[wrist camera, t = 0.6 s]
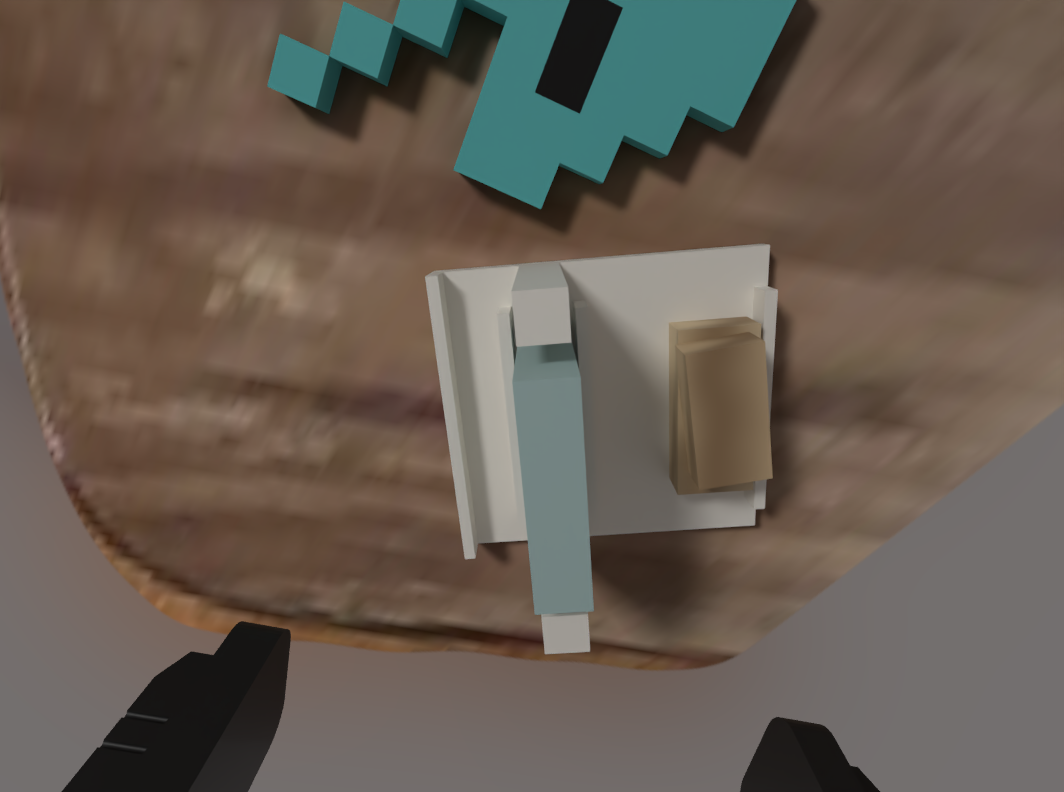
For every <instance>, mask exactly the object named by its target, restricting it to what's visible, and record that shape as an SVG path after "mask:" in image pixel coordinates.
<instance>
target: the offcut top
mask: <svg viewBox="0 0 1064 792" xmlns="http://www.w3.org/2000/svg"><path fill="white" fill-rule="evenodd" d="M675 351H676V360H677V369H678V378H679V387H680V397H681V406H682V415H683V424H684V433H685V443H686V452H687V461H688V470H689V473H690V475H691V477H692V479H693V480H694V482H695V484H696V486H697V487H698V489H699V490H704V489H710V488H716V487H722V486H729V485H735V484H741V483H747V482H753V481H760V480H766V479H772V478H773V475H772V457H771V439H770V421H769V403H768V385H767V366H766V348H765V341H764V340H762V339H761V338H759V337H757V336H755V335H754V334H752V333H750V332H745V333H740V334H734V335H728V336H723V337H717V338H712V339H706V340H700V341H695V342H689V343H684V344H678V345H675Z"/></svg>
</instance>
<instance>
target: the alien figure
mask: <svg viewBox="0 0 1064 792" xmlns="http://www.w3.org/2000/svg"><path fill="white" fill-rule="evenodd" d="M795 2H796V0H400V3H399V7H398V10H397V13H396V17H395V20H394V24H393V25H392V24H390V23H388V22H386V21H384V20H381V19H379V18H377V17H375V16H373V15H371V14H369V13H367V12H365V11H363V10H360V9H358V8H356V7H354V6H352V5H350V4H348V3H346V2H344V3H343V6H342V10H341V14H340V18H339V21H338V25H337V29H336V33H335V36H334V40H333V44H332V48H331V51H330V55H329V56H328V55H325V54H323V53H321V52H319V51H317V50H315V49H313V48H310V47H308V46H306V45H304V44H302V43H300V42H297V41H295V40H293V39H291V38H289V37H287V36H284V35H282V34H280V36H279V40H278V44H277V48H276V52H275V57H274V61H273V65H272V69H271V73H270V77H269V82H268V87H270V88H272V89H274V90H276V91H279V92H281V93H283V94H285V95H288V96H290V97H292V98H294V99H297V100H299V101H301V102H303V103H305V104H308V105H310V106H312V107H314V108H317V109H319V110H321V111H323V112H326V113H328V114H329V113H330V109H331V106H332V102H333V99H334V95H335V91H336V88H337V84H338V80H339V77H340V73H341V70H342V66H344V67H346V68H348V69H350V70H353V71H355V72H357V73H359V74H361V75H363V76H366V77H368V78H370V79H372V80H374V81H376V82H379V83H381V84H383V85H385V86H388V83H389V80H390V76H391V73H392V70H393V66H394V63H395V60H396V57H397V53H398V50H399V47H400V43H401V40H402V37H404V38H406V39H408V40H410V41H412V42H414V43H416V44H419V45H421V46H423V47H425V48H427V49H429V50H431V51H433V52H435V53H438V54H440V55H442V56H444V57H446V58H448V55H449V52H450V49H451V46H452V43H453V40H454V37H455V34H456V31H457V28H458V25H459V21H460V18H461V15H462V12H463V9H464V7H466V8H468V9H470V10H472V11H474V12H476V13H478V14H480V15H482V16H484V17H486V18H488V19H490V20H492V21H494V22H496V23H498V24H500V25H502V26H504V28H503V31H502V33H501V36H500V39H499V42H498V45H497V48H496V50H495V53H494V56H493V59H492V62H491V65H490V68H489V70H488V73H487V76H486V79H485V82H484V85H483V87H482V90H481V93H480V96H479V99H478V102H477V104H476V107H475V110H474V113H473V116H472V119H471V122H470V124H469V127H468V130H467V133H466V136H465V139H464V141H463V144H462V147H461V150H460V153H459V156H458V159H457V161H456V164H455V167H454V170H455V171H457V172H459V173H461V174H463V175H466V176H468V177H470V178H472V179H475V180H477V181H479V182H481V183H483V184H486V185H488V186H490V187H492V188H495V189H497V190H499V191H501V192H503V193H506V194H508V195H510V196H512V197H515V198H517V199H519V200H521V201H523V202H526V203H528V204H530V205H532V206H535V207H537V208H539V209H541V208H542V205H543V203H544V201H545V198H546V196H547V193H548V191H549V188H550V186H551V183H552V181H553V179H554V176H555V174H556V171H557V169H558V166H561V167H563V168H565V169H567V170H569V171H571V172H574V173H576V174H578V175H580V176H582V177H584V178H587V179H589V180H591V181H593V182H595V183H597V184H602V183H603V182H604V180H605V178H606V175H607V173H608V171H609V168H610V166H611V164H612V162H613V159H614V157H615V155H616V152H617V150H618V148H619V146H620V143H621V141H623V142H625V143H627V144H630V145H632V146H634V147H636V148H638V149H640V150H642V151H644V152H646V153H648V154H651V155H653V156H655V157H657V158H659V159H660V158H663V157H665V156H668V153H669V151H670V149H671V147H672V145H673V143H674V140H675V138H676V136H677V134H678V132H679V130H680V128H681V125H682V123H683V121H684V119H685V117H686V115H687V116H689V117H691V118H693V119H695V120H697V121H699V122H701V123H703V124H705V125H708V126H710V127H712V128H714V129H716V130H718V131H720V132H724V131H726V130H729V129H731V128H734V126H735V124H736V122H737V120H738V118H739V116H740V114H741V112H742V110H743V108H744V106H745V104H746V102H747V100H748V97H749V95H750V93H751V91H752V89H753V87H754V85H755V83H756V81H757V79H758V77H759V75H760V73H761V71H762V69H763V67H764V65H765V63H766V61H767V59H768V57H769V55H770V53H771V51H772V49H773V47H774V45H775V43H776V41H777V39H778V37H779V35H780V33H781V30H782V28H783V26H784V24H785V22H786V20H787V18H788V16H789V14H790V12H791V10H792V8H793V6H794V4H795Z"/></svg>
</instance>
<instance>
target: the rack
mask: <svg viewBox="0 0 1064 792" xmlns="http://www.w3.org/2000/svg"><path fill="white" fill-rule="evenodd" d="M769 255H770V245H767V244H753V245H741V246H729V247H717V248H705V249H693V250H681V251H669V252H657V253H645V254H633V255H621V256H608V257H596V258H584V259H572V260H560V261H548V262H536V263H524V264H512V265H500V266H488V267H476V268H464V269H452V270H439V271H433V272H432V273H430V274H428V275H427V276H425V280H426V287H427V294H428V301H429V308H430V315H431V322H432V329H433V336H434V343H435V350H436V357H437V364H438V372H439V379H440V386H441V393H442V400H443V407H444V414H445V421H446V428H447V435H448V442H449V449H450V456H451V464H452V471H453V478H454V485H455V492H456V499H457V506H458V513H459V520H460V527H461V534H462V541H463V548H464V556H465V559H474V558H476V552H477V546H478V543H492V542H508V541H523V540H528V538H527V528H526V518H525V507H524V497H523V487H522V477H521V466H520V456H519V446H518V436H517V425H516V415H515V405H514V395H513V384H512V380H513V373H514V366H515V359H516V352H517V347H521V346H534V345H547V344H560V343H572V345H573V349H574V353H575V357H576V361H577V364H578V368H579V372H580V376H581V393H582V411H583V428H584V446H585V464H586V482H587V500H588V518H589V536H599V535H615V534H630V533H645V532H660V531H676V530H691V529H706V528H722V527H737V526H752V525H755V514H756V509H765V497H766V481H767V479H766V480H760V481H753V490H745V491H730V492H715V493H700V494H686V495H677V493H676V491H675V489H674V486H673V484H672V482H671V480H670V478H669V322H682V321H695V320H707V319H720V318H733V317H746V316H747V317H749V318H751V319H753V320H754V321H756V322H758V323H760V324H761V339H762V340H764V341H765V348H766V366H767V385H768V403H769V421H770V414H771V397H772V381H773V364H774V347H775V331H776V314H777V297H778V290H777V289H774V288H771V287H768V273H769ZM571 341H572V342H571ZM542 628H543V638H544V649H545V654H557V653H574V652H590V641H589V624H588V612H572V613H556V614H542Z"/></svg>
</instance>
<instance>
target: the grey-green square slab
mask: <svg viewBox="0 0 1064 792" xmlns="http://www.w3.org/2000/svg"><path fill="white" fill-rule="evenodd" d="M571 342H572V341H571ZM512 384H513V395H514V405H515V415H516V425H517V436H518V446H519V456H520V466H521V477H522V487H523V497H524V507H525V518H526V528H527V538H528V548H529V559H530V569H531V579H532V589H533V600H534V610H535V615H539V614H556V613H572V612H589V611H594V607H593V589H592V571H591V553H590V536H589V518H588V500H587V482H586V464H585V446H584V428H583V411H582V393H581V376H580V372H579V368H578V364H577V361H576V357H575V353H574V349H573V345H572V343H560V344H547V345H534V346H521V347H517V352H516V359H515V366H514V373H513V380H512Z"/></svg>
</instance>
